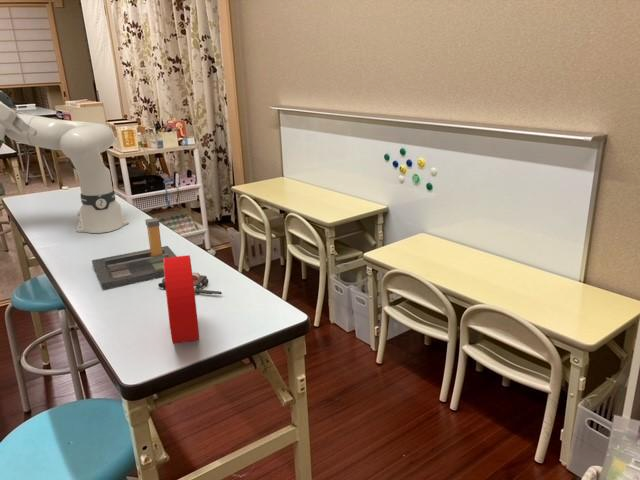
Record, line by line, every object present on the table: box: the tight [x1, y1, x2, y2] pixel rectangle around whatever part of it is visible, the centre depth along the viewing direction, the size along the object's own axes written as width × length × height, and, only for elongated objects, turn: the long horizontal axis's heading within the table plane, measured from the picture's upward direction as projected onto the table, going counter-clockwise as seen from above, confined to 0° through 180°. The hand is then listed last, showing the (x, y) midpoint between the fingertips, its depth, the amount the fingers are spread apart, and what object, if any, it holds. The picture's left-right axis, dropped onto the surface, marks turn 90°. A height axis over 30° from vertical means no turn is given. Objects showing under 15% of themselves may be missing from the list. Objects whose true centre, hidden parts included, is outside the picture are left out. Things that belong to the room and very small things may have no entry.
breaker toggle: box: [144, 217, 163, 257], centre depth 159 cm, size 3×3×13 cm
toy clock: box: [164, 254, 200, 345], centre depth 118 cm, size 20×6×20 cm, turn 17°
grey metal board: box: [91, 245, 178, 291], centre depth 158 cm, size 20×24×4 cm
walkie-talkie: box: [157, 272, 223, 295], centre depth 145 cm, size 9×4×20 cm
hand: (35, 133), depth 140 cm, fingers closed
